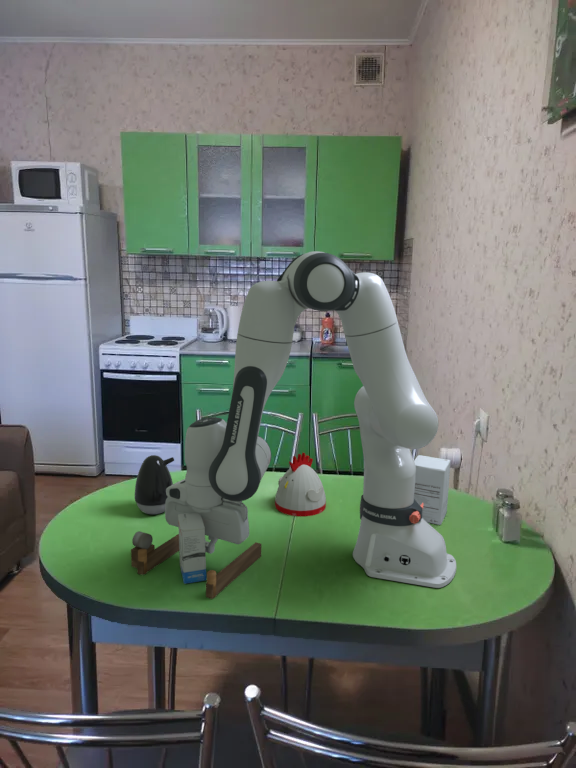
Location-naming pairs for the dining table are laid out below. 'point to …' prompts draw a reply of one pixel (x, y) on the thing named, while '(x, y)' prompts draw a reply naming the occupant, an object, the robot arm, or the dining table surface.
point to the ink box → (192, 547)
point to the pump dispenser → (153, 484)
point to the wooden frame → (150, 557)
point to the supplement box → (432, 487)
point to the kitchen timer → (300, 489)
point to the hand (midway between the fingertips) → (206, 551)
